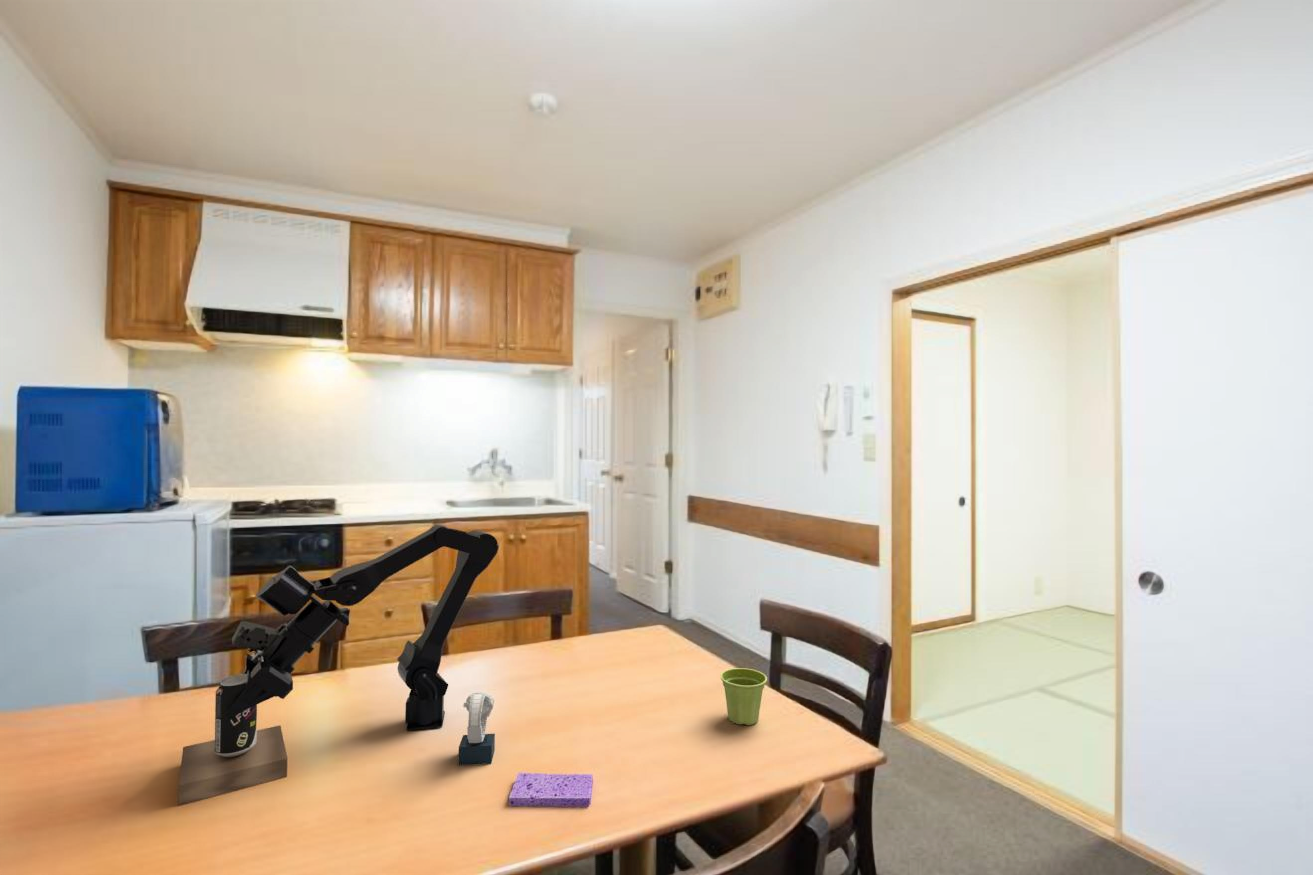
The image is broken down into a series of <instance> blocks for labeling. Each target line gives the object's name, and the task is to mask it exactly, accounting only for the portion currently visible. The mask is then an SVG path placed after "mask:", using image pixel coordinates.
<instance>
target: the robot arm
mask: <svg viewBox="0 0 1313 875" xmlns="http://www.w3.org/2000/svg"><path fill="white" fill-rule="evenodd" d="M443 547H444V548H448V549H452V550H456V551H457V554H456V560H455V562H456V563H455V567H454V568H455V569H454V572H453V573H452V575H451V577H450V579H449V581H448V583H447V585H446V587H445V589H444V591H443V593H442V595H441V596H440V599H439V601H438V603H437V605H436V606H435V608H434V611H433V612H432V614H431V617H430V618H429V620H428V622H427V624H426V627H425V629H424V630H423V632H422V634H421V635H420V636H419V637H418V638H417V639H416V640H415V641H414V642H412V641H411V640H407V641H406V643H405V646H404V648H403V650H402V652H401V654H400V655H399V656H398V657H397V658H396V660H397V661H398V664H397V673H398V675H399V678H401V680H402V681H403V682H404V684H405V685H406V687H408V688H409V689H410V691H409V694H408V697H407V698H406V701H405V710H404V711H405V714H404V715H405V718H404V719H405V720H404V721H405V724H407V725H406V731H408V732H409V731H417V730H426V729H436V728H437V729H438V728H442V727H443V724H444V719H445V715H446V712H445V705H444V704H445V696H446V694H447V691H448V688H449V684H448V682H446V680H445V679H444V678H443V677H442V676H441V675H440V673H439V668H440V666H441V660H442V655H443V654H442V653H443V646H444V644H445V642H446V639H447V637H448V635H449V633H450V632H451V630H452V628H453V625H454V623H455V621H456V619H457V617H458V615H459V614H460V612H461V609H462V607H463V605H464V603H465V601H466V599H467V597H468V595H469V593H470V591H471V589H472V587H473V585H474V582H475V581H476V579H477V578H478V576H480V575H481V574H482V573H483V572H484V571H485V570H486V569H487V568H488V567H489V566H490V564H491V563H492V561H493V560H494V559H495V557H496V556H497V554H498V551H499V543H498V539H496V537H495V536H494V535H492V534H490V533H487V532H484V531H482V530H478V529H476V530H475V529H474V530H471V531H463V530H460V529H455V528H451V527H448V526H445V525H443V524H435V525H432V526H431V528H429V529H428V530H426V531H424V532H422V533H420V534H418V535H417V536H415V537H413V538H411V539H409V540H407V541H405V542H404V543H402V544H400V545H397V547H395V548H393V549H391V550H389V551H386V552H385V553H383V554H382V555H381V554H380V555H379V556H378V557H376V558H374V559H371V560H367V561H364V562H363V561H362V562H359V563H356V564H352V565H350V566H347V567H344V568H342V569H338V570H337V571H336V572H334V573H333V574H332V575H331V576H329V577H325V578H324V577H323V578H319V579H315V580H311V581H309V580H308V579H307V578H306V577H304V576H303V575H301V573H299V572H298V570H297V569H296V568H295V567H293V566H292V565H287V567H286V568H284V569H283V570H281V571H280V572H278V573H277V574H276V575H275V576H271V577H270V578H269V579H268V580H267V581H266V582H265V583H264V584H263V585H262V586H261V587H260V589H258V591H257V593H256V595H255V597H256V598H257V599H259V600H260V601H262V602H263V603H265V604H266V606H267V605H268V606H269V607H270V608H271V609H273V610H275V611H276V612H278V613H279V614H280V615H281V616H284V617H285V616H287V615H290V616H292V615H295V616H294V617H293V618H292V619H291V620H290V621H288V623H286V622H284V623H281V624H280V625H278V627H277V628H273V627H270V626H266V625H262V624H259V623H253V622H250V621H245V620H241V621H240V623H239V625H238V627H237V629H236V630H235V632H234V634H233V636H232V638H231V645H232V646H233V647H237V648H239V649H242V648H246V649H247V651H248V652H249V653H251V655H250V654H249V653H246V654H245V668H244V670H243V672H242V673H241V674H247V684H246V686H245V687H244V688H243V690H242V691H241V692H240V693H239V695H238V696H237V697H236V699H235V700H234V701H233V703H232V704H231V705H230V707H229V708H228V709H227V711H226V712H225V716H227V717H229V718H231V717H233V716H235V715H237V714H239V713H241V712H243V711H245V710H247V709H249V708H251V707H253V706H255V705H257V706H258V705H259V704H261V703H263V702H266V701H268V700H270V699H272V698H277V697H278V698H279V699H281V700H284V699H285V698H286V697H287V696H288V695H289V694H290V693H291V692H292V691H293V689H294V680H293V676H292V674H291V673H293V671H294V670H295V666H294V665H296V664H297V663H298V662H299V660H300V659H301V658H302V657H303V656H304V655H305V654H306V653H308V654H311V653H312V652H313V651H314V650H315V647H314V645H315V644H316V643H317V642H318V641H319V640H320V639H321V638H322V637H323V635H324V634H325V633H326V632H327V631H328V630H330V628H331V627H332V626H333V625H334V624H335V623H336V622H337V621H338V622H340V623H341V625H344V626H345V627H349V625H350V618H349V617H350V613H351V610H350V609H349V608H348V607H353V606H355V605H358V604H359V603H360V602H362V601H363V600H365V598H367V597H369V595H371V594H372V593H374V591H375V590H377V588H378V587H379V586H380V585H381V584H382V583H383V582H384V581H385V580H387V579H388V578H390V577H392V576H394V575H395V574H398V572H400V571H402V570H404V569H407V568H408V567H409V566H411V565H413V564H415V563H416V562H418V561H420V560H421V559H423V558H425V557H427V556H429V555H430V554H432V553H434V552H435V551H437V550H439V549H441V548H443ZM313 594H314V595H315V596H314V595H313ZM317 597H318V598H317ZM320 599H321V600H322V601H321V600H320ZM323 601H324V602H323ZM334 601H335V602H336V603H337V604H339V605H341V606H345V607H344V608H340V607H339V606H338V605H336V604H335V603H334ZM296 614H297V615H296ZM252 652H253V653H252Z"/></svg>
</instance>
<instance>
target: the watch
mask: <svg viewBox="0 0 1313 875" xmlns="http://www.w3.org/2000/svg"><path fill="white" fill-rule="evenodd" d="M494 704H495V698H494V696H493V695H491V694H489V693H487V692H483V691H482V692H481V691H480V692H478V691H477V692H474V693H473V692H472V693H471V694H469V696H467V698H466V702H463V706H462V707H463V708H466V710H467V712H468V719H467V722H468V725H467V727H466V729H467V731H466V732H467V734H463V736H462V737H461V740H460V743H459V745H458V756H457V757H458V759H457V760H458V761H457V764H458V766H471V765H489V764H492V762H493V758H494V754H495V752H496V751H495V748H496V746H495V745H496V744H495V741H496V740H495V739H496V738H495V736H496V733H486V730H487V722H488V718H489V717H490V715H491V712H492V710H493V708H494Z"/></svg>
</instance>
